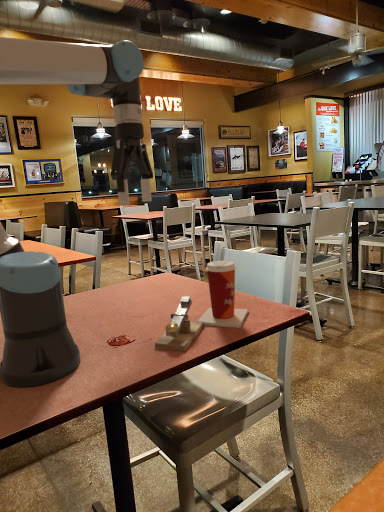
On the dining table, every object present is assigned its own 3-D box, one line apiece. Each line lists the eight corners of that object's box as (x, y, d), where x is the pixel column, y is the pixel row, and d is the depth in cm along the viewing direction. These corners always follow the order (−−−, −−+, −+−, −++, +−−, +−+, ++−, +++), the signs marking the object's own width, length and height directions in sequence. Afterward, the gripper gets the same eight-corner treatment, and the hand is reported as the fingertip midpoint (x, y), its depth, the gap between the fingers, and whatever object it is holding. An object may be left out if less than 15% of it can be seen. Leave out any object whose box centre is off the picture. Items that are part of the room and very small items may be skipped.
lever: (179, 338, 79) (178, 331, 78) (163, 336, 81) (161, 330, 80) (195, 302, 89) (194, 296, 88) (180, 302, 90) (178, 296, 90)
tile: (240, 327, 88) (239, 324, 88) (197, 324, 92) (196, 321, 92) (248, 312, 99) (248, 309, 98) (209, 309, 102) (209, 307, 102)
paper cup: (237, 321, 91) (234, 266, 88) (206, 320, 92) (203, 267, 89) (239, 310, 98) (237, 259, 95) (211, 310, 100) (208, 260, 97)
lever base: (184, 351, 78) (183, 334, 77) (155, 348, 80) (153, 332, 80) (204, 326, 91) (203, 311, 90) (178, 324, 93) (177, 310, 93)
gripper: (117, 115, 85) (126, 205, 90) (160, 127, 108) (166, 199, 113) (90, 118, 88) (100, 207, 92) (137, 130, 111) (144, 200, 115)
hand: (136, 203), depth 102 cm, fingers open, 13 cm apart
